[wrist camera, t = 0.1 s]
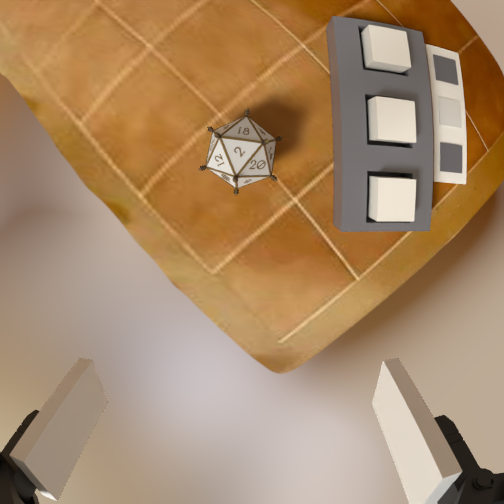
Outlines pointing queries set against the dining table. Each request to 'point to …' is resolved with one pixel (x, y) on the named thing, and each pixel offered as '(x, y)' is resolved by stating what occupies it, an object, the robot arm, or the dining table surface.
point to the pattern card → (447, 115)
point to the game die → (241, 152)
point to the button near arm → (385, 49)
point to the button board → (357, 130)
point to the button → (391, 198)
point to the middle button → (391, 120)
